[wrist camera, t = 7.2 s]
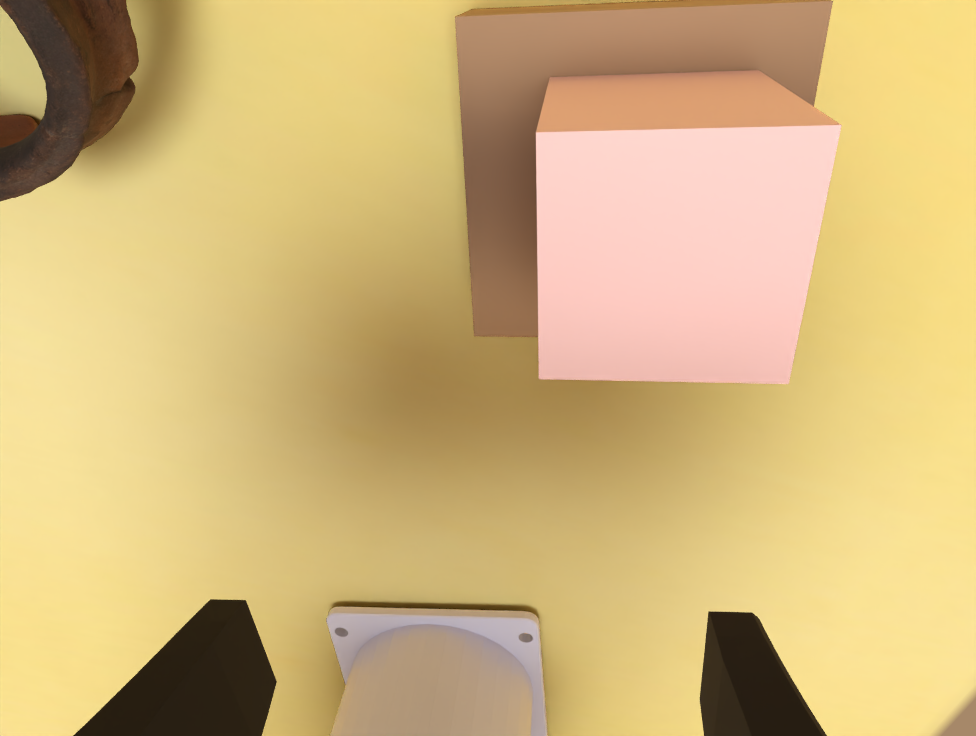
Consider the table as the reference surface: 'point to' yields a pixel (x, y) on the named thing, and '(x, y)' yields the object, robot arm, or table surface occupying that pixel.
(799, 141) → the pink block
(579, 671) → the table surface
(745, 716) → the robot arm
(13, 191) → the brown curved piece
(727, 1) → the brown block
